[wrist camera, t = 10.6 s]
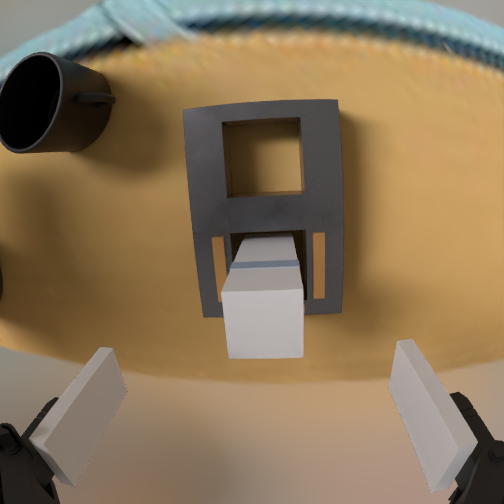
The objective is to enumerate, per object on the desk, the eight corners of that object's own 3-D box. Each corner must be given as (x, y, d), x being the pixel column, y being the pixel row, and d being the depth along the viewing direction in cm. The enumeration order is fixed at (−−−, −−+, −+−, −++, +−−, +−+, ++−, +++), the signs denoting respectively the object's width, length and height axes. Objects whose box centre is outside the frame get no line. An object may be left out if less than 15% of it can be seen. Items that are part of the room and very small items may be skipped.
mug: (130, 150, 29) (81, 150, 21) (44, 152, 30) (-10, 156, 21) (140, 63, 27) (97, 36, 18) (53, 76, 27) (2, 63, 19)
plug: (247, 279, 32) (228, 359, 19) (244, 234, 31) (220, 291, 18) (293, 277, 32) (303, 357, 18) (292, 232, 31) (304, 288, 17)
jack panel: (210, 302, 33) (202, 318, 30) (193, 115, 28) (181, 109, 24) (335, 297, 32) (342, 314, 28) (330, 106, 27) (338, 98, 23)
